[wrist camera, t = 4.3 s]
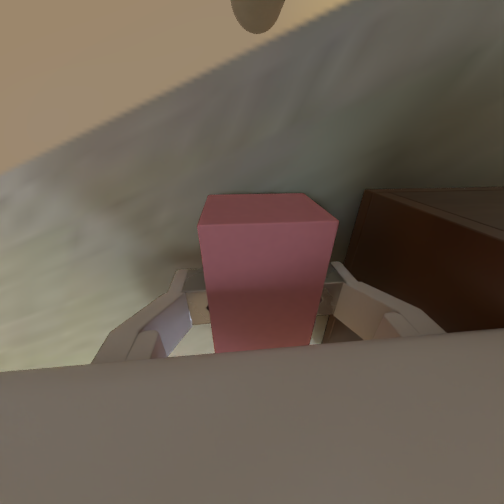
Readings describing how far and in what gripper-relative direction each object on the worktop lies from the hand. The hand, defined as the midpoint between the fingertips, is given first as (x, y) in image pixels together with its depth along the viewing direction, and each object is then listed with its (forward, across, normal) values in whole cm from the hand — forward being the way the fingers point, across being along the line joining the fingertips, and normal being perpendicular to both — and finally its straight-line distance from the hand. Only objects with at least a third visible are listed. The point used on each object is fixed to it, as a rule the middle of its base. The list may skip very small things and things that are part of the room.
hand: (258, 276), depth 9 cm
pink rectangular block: (+2, 0, 0) cm, 2 cm away
